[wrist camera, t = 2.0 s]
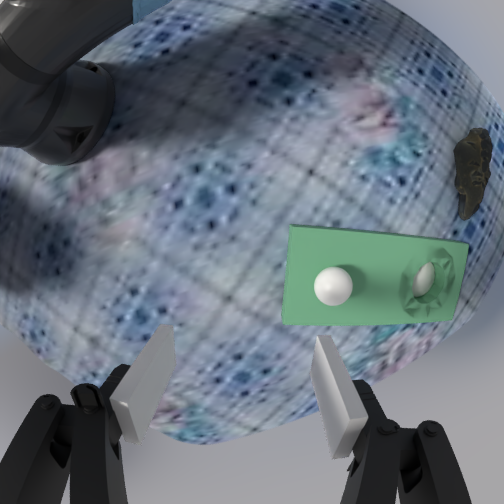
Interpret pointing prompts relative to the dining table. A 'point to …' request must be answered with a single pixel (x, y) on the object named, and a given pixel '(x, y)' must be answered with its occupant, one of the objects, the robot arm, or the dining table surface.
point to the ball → (333, 286)
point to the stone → (472, 170)
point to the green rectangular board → (372, 276)
